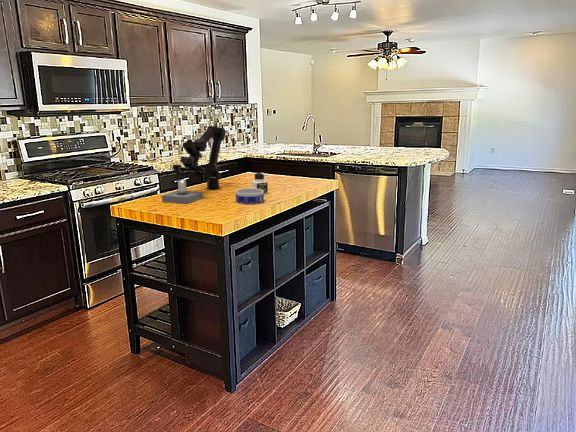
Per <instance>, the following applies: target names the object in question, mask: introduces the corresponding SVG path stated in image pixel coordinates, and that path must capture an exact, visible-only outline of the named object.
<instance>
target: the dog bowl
mask: <svg viewBox="0 0 576 432" xmlns="http://www.w3.org/2000/svg"><path fill="white" fill-rule="evenodd" d="M264 196H265V194H264V191H263V190H262V189H256V188H252V187H247V188H239V189H236V190H235V203H237V202H238V203H237V204H240V203H244V204H243V205H255V204H254V203H258V204H261V203H260V202H262V203H263V202H264V200H265V199H264Z"/></svg>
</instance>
